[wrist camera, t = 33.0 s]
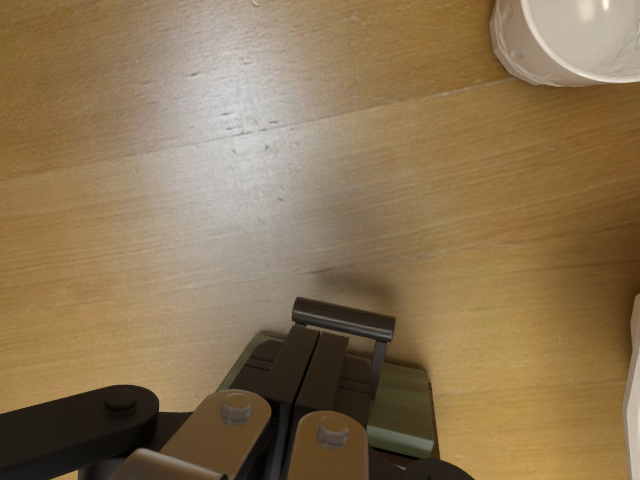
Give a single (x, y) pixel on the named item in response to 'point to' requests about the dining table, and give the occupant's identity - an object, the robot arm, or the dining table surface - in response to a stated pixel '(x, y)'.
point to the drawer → (387, 379)
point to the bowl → (633, 399)
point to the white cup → (568, 41)
